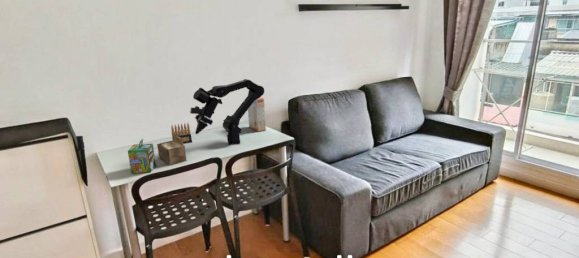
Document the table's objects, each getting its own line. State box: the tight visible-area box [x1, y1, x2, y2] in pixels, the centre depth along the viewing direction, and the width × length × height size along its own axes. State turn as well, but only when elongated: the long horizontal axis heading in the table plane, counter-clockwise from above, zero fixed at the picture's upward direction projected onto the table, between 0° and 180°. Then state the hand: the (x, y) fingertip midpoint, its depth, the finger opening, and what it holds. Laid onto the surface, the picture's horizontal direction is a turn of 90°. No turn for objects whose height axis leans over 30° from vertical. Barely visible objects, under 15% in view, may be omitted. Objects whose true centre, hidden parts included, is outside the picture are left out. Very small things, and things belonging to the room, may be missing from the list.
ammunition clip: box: [170, 122, 193, 145], centre depth 198 cm, size 11×2×12 cm, turn 116°
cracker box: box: [247, 96, 267, 133], centre depth 220 cm, size 14×6×21 cm, turn 30°
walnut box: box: [156, 139, 187, 167], centre depth 174 cm, size 9×13×8 cm
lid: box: [161, 135, 184, 149], centre depth 173 cm, size 8×11×4 cm
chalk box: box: [127, 138, 157, 174], centre depth 162 cm, size 9×9×15 cm
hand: (196, 133), depth 181 cm, fingers closed
